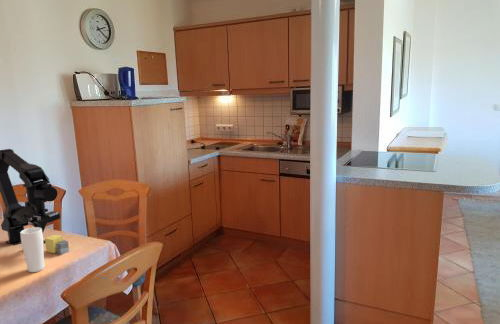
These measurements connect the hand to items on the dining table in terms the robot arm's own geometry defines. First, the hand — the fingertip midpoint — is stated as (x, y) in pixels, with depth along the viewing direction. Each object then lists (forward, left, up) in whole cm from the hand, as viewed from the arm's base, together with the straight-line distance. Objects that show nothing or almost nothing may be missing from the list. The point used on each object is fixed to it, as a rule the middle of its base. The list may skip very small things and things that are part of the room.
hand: (40, 234), depth 149 cm
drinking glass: (+14, -14, -6) cm, 21 cm away
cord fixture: (+3, 0, -6) cm, 7 cm away
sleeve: (+7, 0, -6) cm, 9 cm away
